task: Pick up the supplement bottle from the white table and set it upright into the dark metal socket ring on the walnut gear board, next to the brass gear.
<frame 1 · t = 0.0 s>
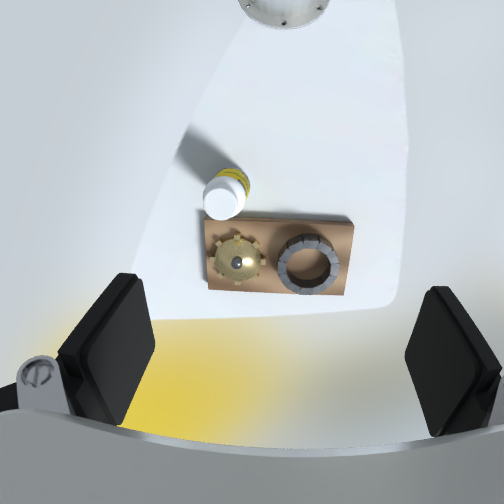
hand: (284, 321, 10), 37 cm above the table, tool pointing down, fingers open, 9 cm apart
supplement bottle: (232, 184, 46), on the table
gear board: (277, 255, 50), on the table
socket ring: (306, 256, 50), resting on gear board
brass gear: (239, 253, 50), resting on gear board
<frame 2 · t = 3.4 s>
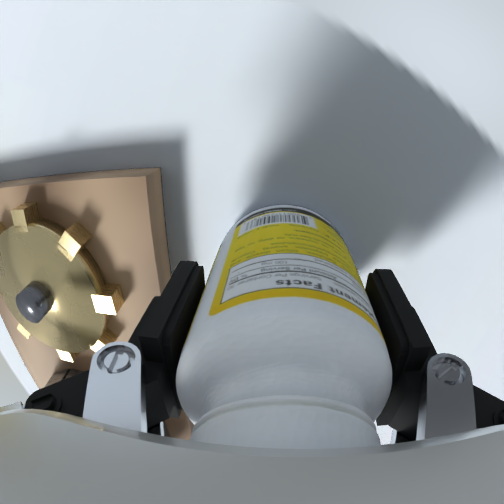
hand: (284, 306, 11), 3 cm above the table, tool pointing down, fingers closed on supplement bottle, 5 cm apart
supplement bottle: (284, 261, 14), on the table, touching gripper
gear board: (95, 354, 17), on the table
socket ring: (114, 399, 19), resting on gear board
brass gear: (66, 269, 15), resting on gear board
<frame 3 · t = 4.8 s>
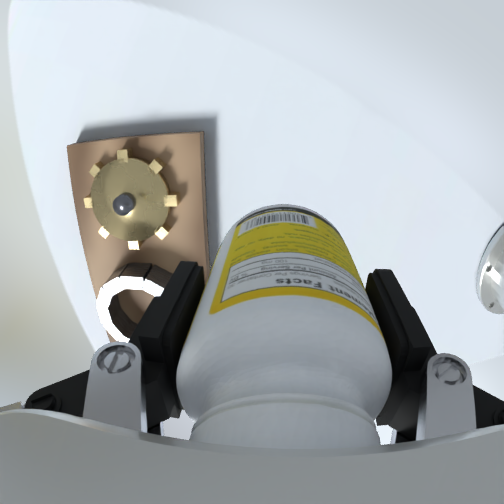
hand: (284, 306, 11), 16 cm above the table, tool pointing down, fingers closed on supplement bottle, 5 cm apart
supplement bottle: (284, 260, 14), point 13 cm above the table, touching gripper
gear board: (146, 254, 29), on the table
socket ring: (153, 294, 31), resting on gear board
brass gear: (138, 192, 26), resting on gear board
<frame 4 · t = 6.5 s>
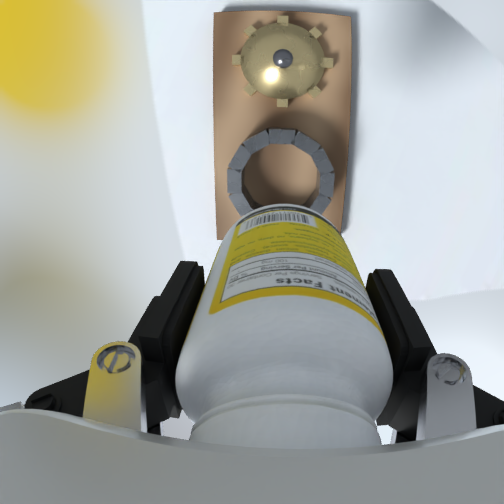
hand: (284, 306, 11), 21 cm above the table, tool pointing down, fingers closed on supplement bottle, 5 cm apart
supplement bottle: (284, 260, 14), point 18 cm above the table, touching gripper
gear board: (281, 125, 28), on the table
socket ring: (280, 172, 30), resting on gear board
brass gear: (282, 63, 25), resting on gear board
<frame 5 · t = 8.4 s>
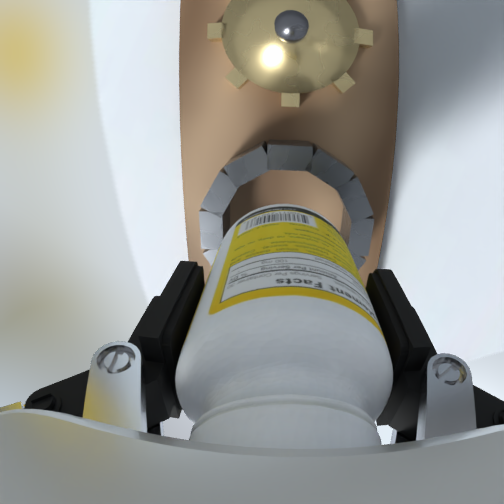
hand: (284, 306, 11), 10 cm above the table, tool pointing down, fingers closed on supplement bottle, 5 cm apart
supplement bottle: (284, 260, 14), point 7 cm above the table, touching gripper
gear board: (288, 136, 18), on the table
socket ring: (286, 208, 20), resting on gear board
brass gear: (289, 39, 15), resting on gear board
when the fingers open (6 cm above the table, at t = 9.8 s): supplement bottle drops 1 cm, resting on gear board.
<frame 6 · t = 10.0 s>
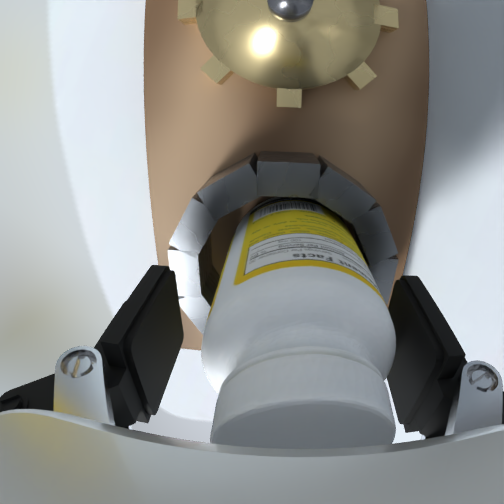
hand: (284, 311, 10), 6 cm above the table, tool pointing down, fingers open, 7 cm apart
supplement bottle: (292, 248, 15), point 1 cm above the table, touching gear board
gear board: (286, 146, 14), on the table
socket ring: (282, 237, 16), resting on gear board
brass gear: (288, 20, 11), resting on gear board
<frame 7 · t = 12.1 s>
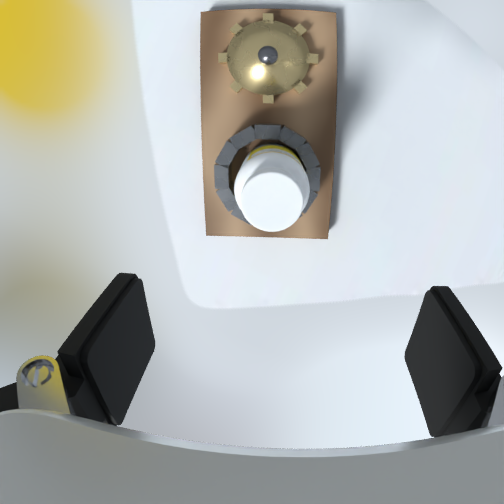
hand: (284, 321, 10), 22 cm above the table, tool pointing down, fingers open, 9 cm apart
supplement bottle: (272, 170, 29), point 1 cm above the table, touching gear board
gear board: (268, 122, 28), on the table
socket ring: (268, 168, 30), resting on gear board
brass gear: (268, 60, 25), resting on gear board
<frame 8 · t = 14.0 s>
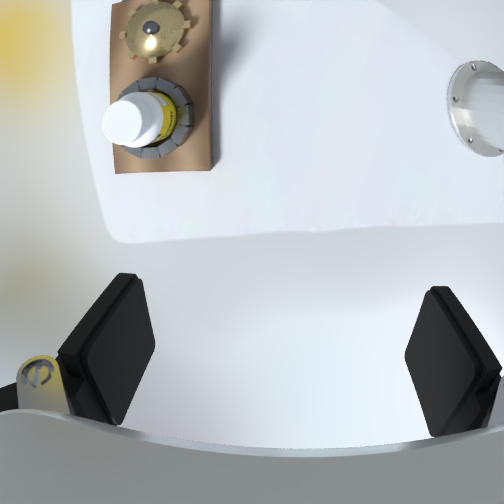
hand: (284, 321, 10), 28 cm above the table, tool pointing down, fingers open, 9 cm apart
supplement bottle: (160, 115, 33), point 1 cm above the table, touching gear board
gear board: (160, 79, 32), on the table
socket ring: (161, 116, 34), resting on gear board
brass gear: (160, 32, 29), resting on gear board
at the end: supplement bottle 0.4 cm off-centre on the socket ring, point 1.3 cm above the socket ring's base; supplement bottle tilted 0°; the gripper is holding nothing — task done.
